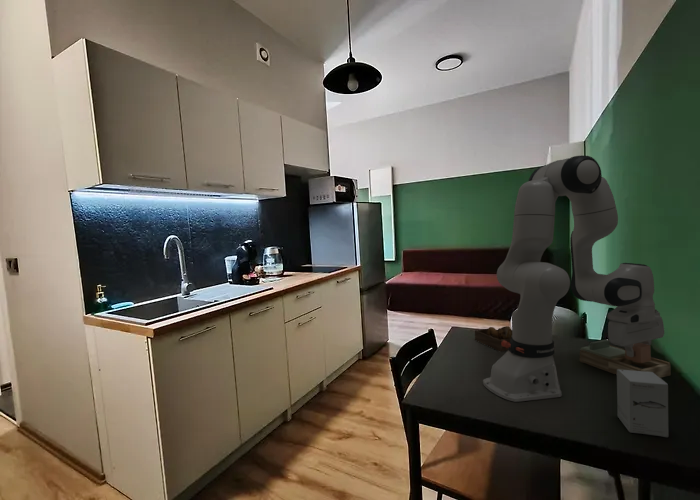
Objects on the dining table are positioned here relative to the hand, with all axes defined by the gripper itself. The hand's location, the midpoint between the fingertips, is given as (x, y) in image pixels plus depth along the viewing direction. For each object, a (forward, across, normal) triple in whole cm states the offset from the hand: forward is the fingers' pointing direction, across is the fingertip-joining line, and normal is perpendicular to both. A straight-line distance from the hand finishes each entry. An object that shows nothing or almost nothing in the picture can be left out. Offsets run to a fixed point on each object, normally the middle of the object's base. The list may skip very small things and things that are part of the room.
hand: (637, 354), depth 106 cm
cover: (+2, 0, -10) cm, 10 cm away
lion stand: (+6, +21, -41) cm, 47 cm away
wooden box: (+6, 0, -5) cm, 8 cm away
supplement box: (+6, +30, +20) cm, 37 cm away
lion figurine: (+6, +20, -40) cm, 45 cm away
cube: (+2, 0, 0) cm, 2 cm away
